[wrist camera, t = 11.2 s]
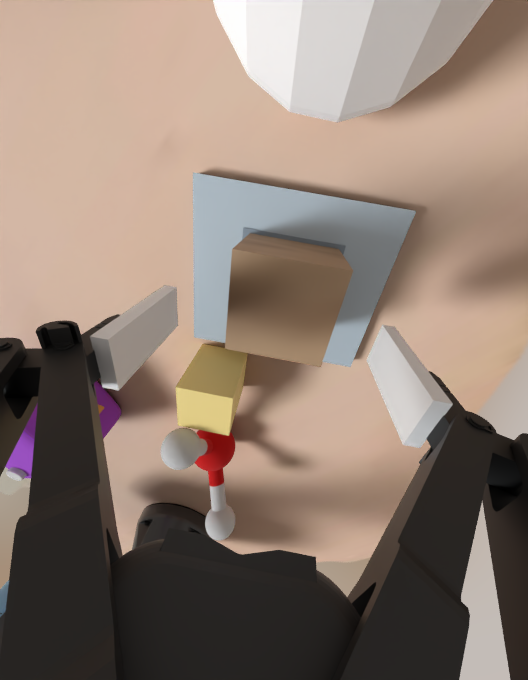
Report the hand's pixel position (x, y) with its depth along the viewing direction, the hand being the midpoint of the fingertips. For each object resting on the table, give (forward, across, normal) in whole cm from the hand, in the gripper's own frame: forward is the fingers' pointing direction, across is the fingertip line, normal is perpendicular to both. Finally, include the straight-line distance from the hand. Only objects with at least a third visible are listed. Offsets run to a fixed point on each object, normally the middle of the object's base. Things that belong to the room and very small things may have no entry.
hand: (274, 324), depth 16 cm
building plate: (+8, 0, -1) cm, 8 cm away
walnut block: (+6, 0, -1) cm, 6 cm away
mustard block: (+8, +5, +10) cm, 14 cm away
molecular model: (+8, +5, +21) cm, 23 cm away
